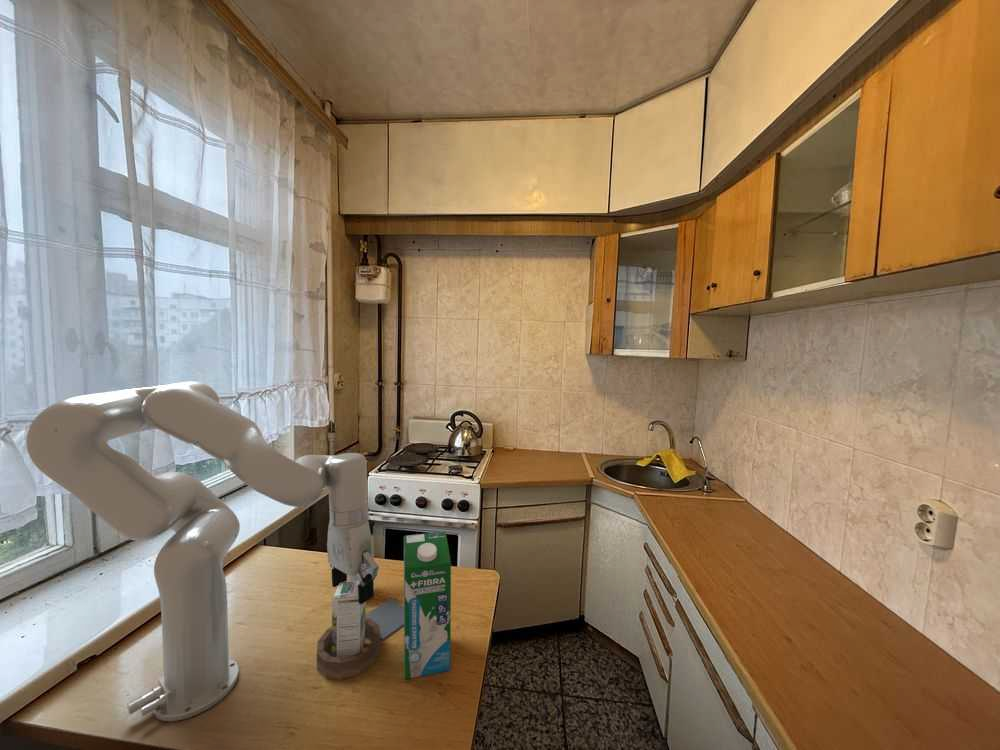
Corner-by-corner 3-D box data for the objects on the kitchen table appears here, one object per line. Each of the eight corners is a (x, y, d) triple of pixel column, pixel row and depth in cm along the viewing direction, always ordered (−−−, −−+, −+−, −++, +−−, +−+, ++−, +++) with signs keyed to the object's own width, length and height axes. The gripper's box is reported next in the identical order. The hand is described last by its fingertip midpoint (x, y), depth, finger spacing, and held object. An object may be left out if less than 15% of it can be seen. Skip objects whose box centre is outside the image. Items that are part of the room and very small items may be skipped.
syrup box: (338, 645, 82) (337, 581, 81) (366, 642, 83) (366, 579, 82) (331, 667, 76) (330, 598, 76) (361, 663, 77) (361, 595, 77)
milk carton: (404, 680, 73) (404, 556, 72) (403, 645, 82) (403, 535, 81) (450, 670, 76) (451, 550, 74) (445, 637, 84) (445, 530, 83)
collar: (338, 690, 71) (338, 671, 71) (305, 658, 78) (305, 641, 78) (392, 649, 81) (392, 632, 81) (358, 624, 88) (358, 609, 88)
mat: (382, 640, 83) (382, 639, 83) (356, 621, 89) (356, 620, 89) (416, 615, 91) (416, 614, 91) (390, 599, 97) (390, 598, 97)
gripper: (310, 509, 80) (314, 586, 81) (357, 531, 70) (360, 618, 71) (342, 498, 86) (345, 569, 87) (390, 517, 76) (393, 597, 77)
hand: (352, 591), depth 79 cm, fingers open, 9 cm apart
